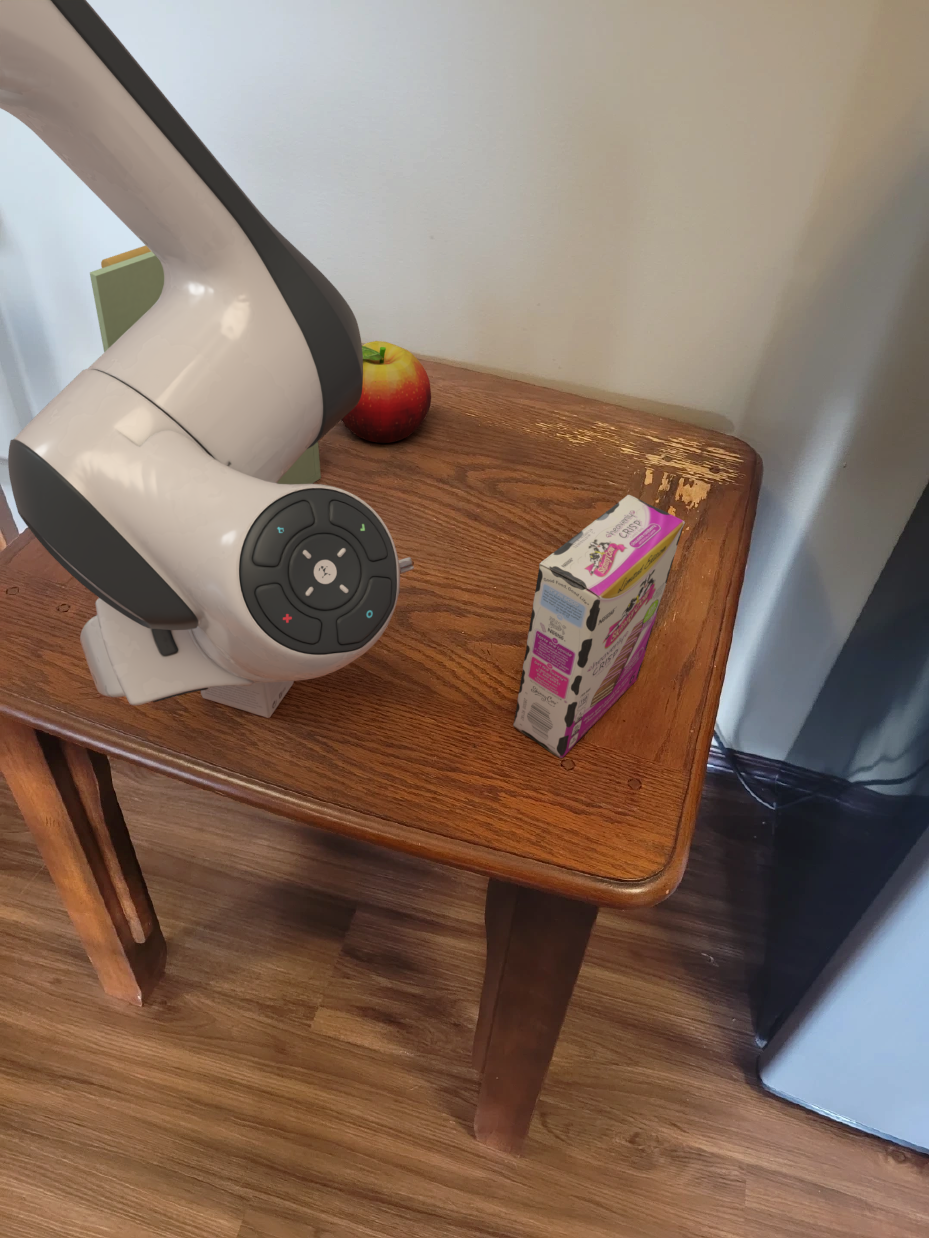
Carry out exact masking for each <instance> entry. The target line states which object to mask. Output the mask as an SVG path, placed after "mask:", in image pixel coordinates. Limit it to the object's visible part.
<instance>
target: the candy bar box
mask: <svg viewBox="0 0 929 1238" xmlns="http://www.w3.org/2000/svg"><path fill="white" fill-rule="evenodd" d="M685 524H686V522H685V520H683V519H681V518H679V517H677V516H675V515H673V514H671V513H669V512H666V511H665V510H663V509H660V508H658V507H656V506H654V505H651V504H649V503H647V502H646V501H643V500H642V499H639V498H638V497H635V496H633V495H630V494H627V495H626V496H625V497H623V498H622V499H621V500H619V501H618V502H617V503H616V504H614V505H612V507H610V508H609V509H608V510H607V511H605V512H604V513H603V514H602V515H600V516H598V518H596V519H595V520H593V521H592V522H591V523H590V524H588V525H587V526H586V527H585V528H583V529H582V530H580V531H579V533H576V535H574V536H572V537H571V538H570V539H569V540H568V541H566V542H565V543H564V544H562V545H561V546H559V548H557V549H556V550H554V551H553V552H552V553H550V555H548V556H547V557H545V559H543V560H542V561H541V562H539V564H538V572H537V578H536V585H535V590H534V597H533V602H532V609H531V614H530V616H531V617H530V621H529V627H528V631H527V632H528V634H527V639H526V647H525V653H524V654H525V655H524V658H523V664H522V671H521V677H520V684H519V690H518V694H517V701H516V706H515V713H514V718H513V719H514V720H513V724H512V726H513V727H514V728H515V729H516V730H518V732H519V731H520V733H522V734H523V735H525V736H527V737H528V738H530V739H531V740H532V741H534V742H536V743H537V744H539V745H540V746H541V747H543V748H544V749H546V750H547V751H548V752H550V753H551V754H553V755H554V756H556V757H558V758H559V759H564V757H565V756H566V755H567V754H568V753H569V752H571V750H572V749H573V748H574V747H575V745H576V744H577V743H578V742H579V741H580V740H581V739H582V738H583V737H584V736H585V735H586V734H587V733H588V732H589V731H590V730H591V729H592V727H593V726H594V725H596V723H597V722H598V721H599V720H600V719H601V718H602V717H603V716H604V715H605V714H606V713H607V712H608V711H609V710H610V709H611V708H612V707H613V706H614V704H616V703H617V701H618V700H619V699H620V698H621V697H622V696H623V695H624V694H626V692H627V691H628V690H629V689H630V688H631V687H632V686H633V685H634V684H635V683H636V682H637V680H638V679H639V675H640V672H641V668H642V666H643V662H644V659H645V655H646V652H647V649H648V645H649V642H650V639H651V635H652V632H653V628H654V624H655V622H656V618H657V615H658V611H659V608H660V604H661V602H662V598H663V595H664V592H665V589H666V586H667V583H668V579H669V575H670V572H671V570H672V566H673V563H674V559H675V556H676V552H677V549H678V545H679V542H680V540H681V535H682V533H683V530H684V526H685Z"/></svg>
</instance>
